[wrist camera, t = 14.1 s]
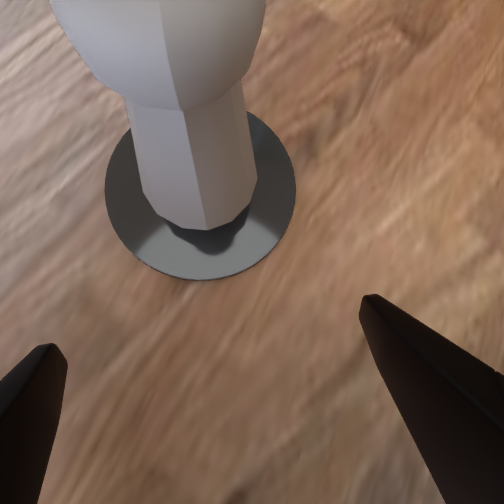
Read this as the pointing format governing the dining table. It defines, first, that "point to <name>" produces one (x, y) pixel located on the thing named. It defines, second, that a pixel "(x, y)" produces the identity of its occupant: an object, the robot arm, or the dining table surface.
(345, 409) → the dining table surface
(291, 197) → the coaster
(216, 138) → the salt shaker
